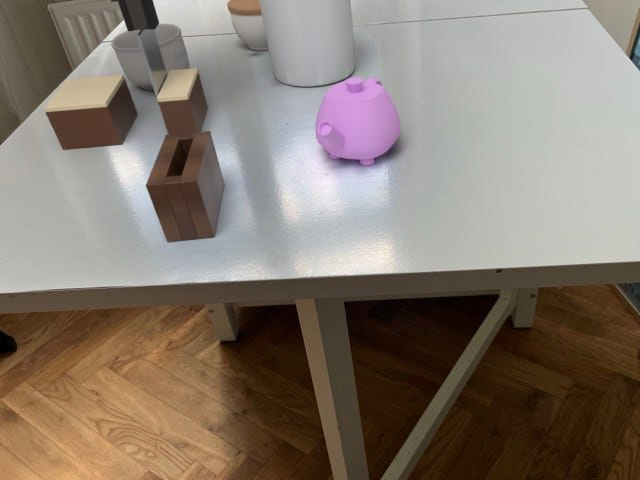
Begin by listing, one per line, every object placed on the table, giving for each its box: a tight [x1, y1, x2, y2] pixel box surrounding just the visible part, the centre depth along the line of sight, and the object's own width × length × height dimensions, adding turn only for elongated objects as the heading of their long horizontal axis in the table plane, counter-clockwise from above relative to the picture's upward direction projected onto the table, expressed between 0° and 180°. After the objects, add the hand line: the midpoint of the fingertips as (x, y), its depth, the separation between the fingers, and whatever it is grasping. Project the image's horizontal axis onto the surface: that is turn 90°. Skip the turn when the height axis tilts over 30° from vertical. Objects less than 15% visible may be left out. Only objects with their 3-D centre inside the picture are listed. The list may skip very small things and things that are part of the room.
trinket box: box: [226, 0, 269, 51], centre depth 102 cm, size 11×11×9 cm
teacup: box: [110, 23, 190, 92], centre depth 91 cm, size 14×11×8 cm
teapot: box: [315, 76, 401, 166], centre depth 69 cm, size 10×15×9 cm
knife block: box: [145, 130, 226, 243], centre depth 61 cm, size 11×5×7 cm, turn 6°
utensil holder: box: [259, 0, 356, 88], centre depth 88 cm, size 15×15×18 cm
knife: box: [125, 0, 168, 106], centre depth 72 cm, size 7×2×17 cm, turn 6°
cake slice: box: [156, 67, 209, 135], centre depth 79 cm, size 4×10×6 cm, turn 6°
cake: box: [43, 74, 138, 151], centre depth 78 cm, size 8×10×6 cm
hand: (143, 26), depth 72 cm, fingers closed on knife, 2 cm apart
